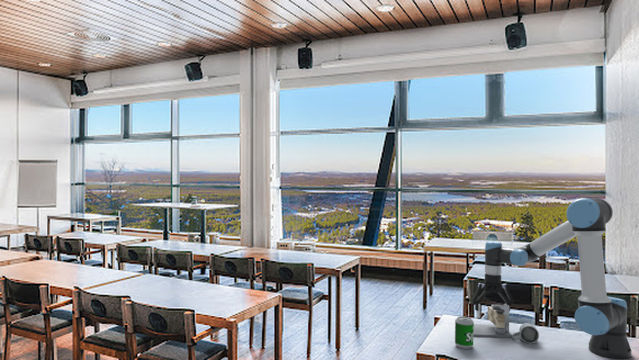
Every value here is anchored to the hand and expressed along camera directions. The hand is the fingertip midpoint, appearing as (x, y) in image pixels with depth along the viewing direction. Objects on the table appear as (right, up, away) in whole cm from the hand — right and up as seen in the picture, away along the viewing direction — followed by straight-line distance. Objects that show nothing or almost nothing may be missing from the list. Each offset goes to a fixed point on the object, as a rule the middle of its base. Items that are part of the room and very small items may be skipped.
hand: (492, 317), depth 216 cm
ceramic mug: (+8, -5, -16) cm, 19 cm away
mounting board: (-4, -5, -5) cm, 8 cm away
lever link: (0, -1, -5) cm, 5 cm away
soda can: (-22, -5, -25) cm, 33 cm away
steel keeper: (+1, -5, -7) cm, 8 cm away
